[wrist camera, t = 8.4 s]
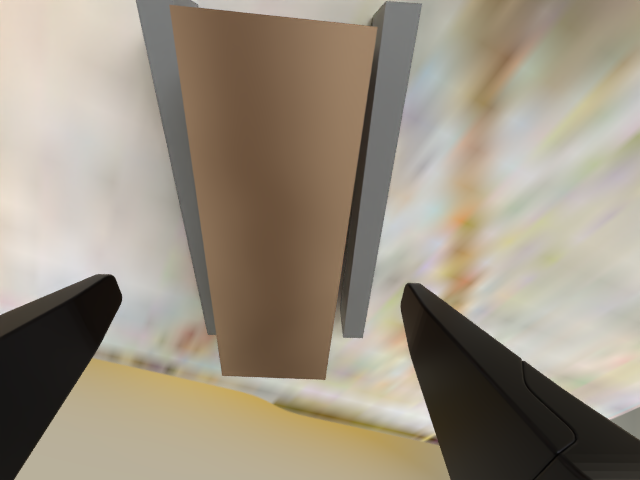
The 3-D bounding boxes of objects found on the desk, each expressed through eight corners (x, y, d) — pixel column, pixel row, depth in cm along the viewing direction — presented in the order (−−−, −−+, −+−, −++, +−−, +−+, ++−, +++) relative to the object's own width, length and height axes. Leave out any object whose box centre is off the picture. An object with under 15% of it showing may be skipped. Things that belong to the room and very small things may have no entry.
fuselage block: (350, 50, 12) (377, 26, 7) (322, 297, 19) (325, 379, 14) (233, 38, 12) (169, 4, 7) (248, 293, 19) (222, 375, 14)
